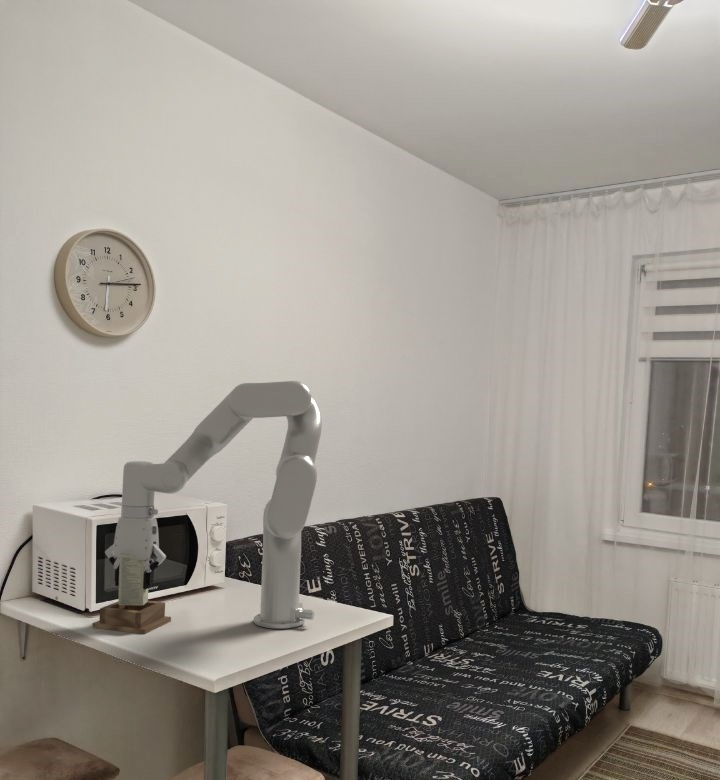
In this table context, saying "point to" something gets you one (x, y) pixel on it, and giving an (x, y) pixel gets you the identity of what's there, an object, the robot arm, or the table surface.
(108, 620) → the socket block
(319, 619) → the table surface
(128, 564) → the skincare box
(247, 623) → the table surface
